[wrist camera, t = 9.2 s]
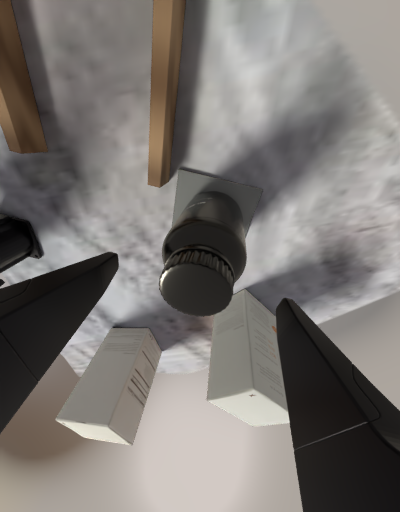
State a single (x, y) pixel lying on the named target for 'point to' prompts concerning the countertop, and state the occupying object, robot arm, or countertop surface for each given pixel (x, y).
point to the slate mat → (198, 183)
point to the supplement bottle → (204, 255)
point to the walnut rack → (162, 88)
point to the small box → (247, 363)
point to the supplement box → (114, 387)
